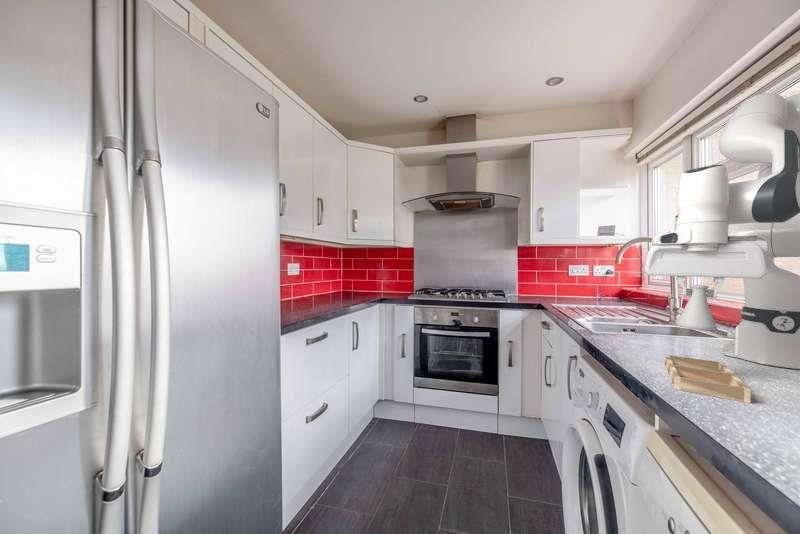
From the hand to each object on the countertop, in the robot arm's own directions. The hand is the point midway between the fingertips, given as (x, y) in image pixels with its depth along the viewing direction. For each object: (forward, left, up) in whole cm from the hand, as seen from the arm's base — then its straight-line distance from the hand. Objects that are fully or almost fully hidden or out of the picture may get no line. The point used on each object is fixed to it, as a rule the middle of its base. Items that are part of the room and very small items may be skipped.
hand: (698, 296), depth 73 cm
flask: (0, 0, -8) cm, 8 cm away
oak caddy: (+4, 0, -18) cm, 19 cm away
